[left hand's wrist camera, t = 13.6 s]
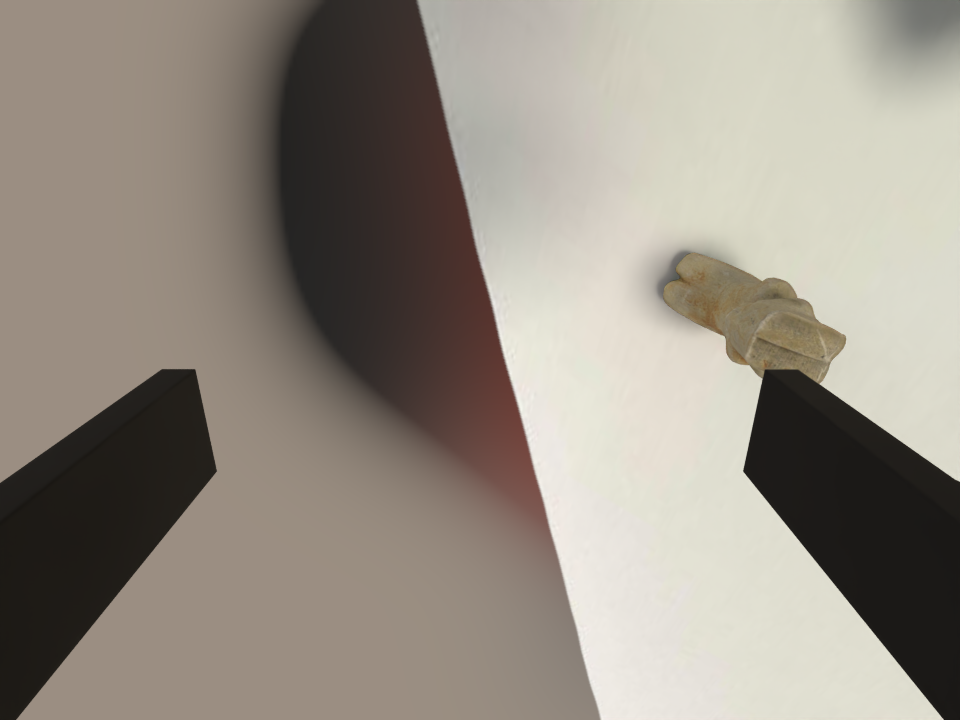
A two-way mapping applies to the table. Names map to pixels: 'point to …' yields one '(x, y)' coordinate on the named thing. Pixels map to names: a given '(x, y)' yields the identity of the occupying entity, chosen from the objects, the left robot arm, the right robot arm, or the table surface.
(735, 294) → the sculpture
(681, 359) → the table surface
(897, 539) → the left robot arm
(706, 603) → the table surface
